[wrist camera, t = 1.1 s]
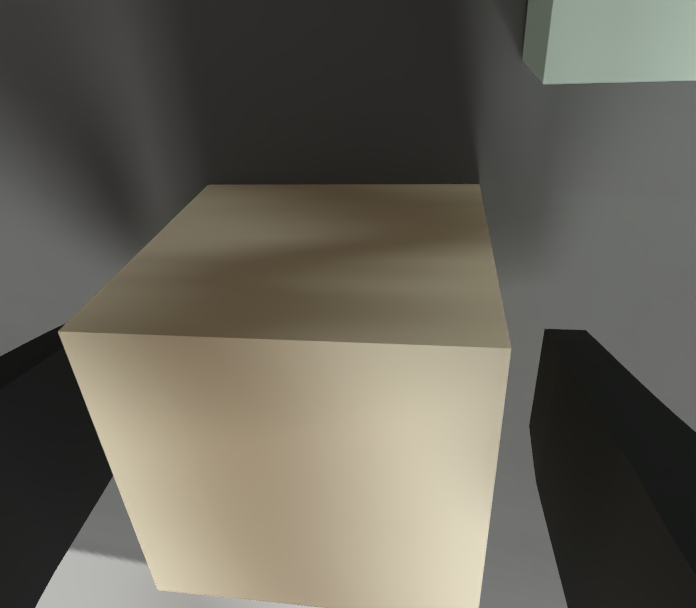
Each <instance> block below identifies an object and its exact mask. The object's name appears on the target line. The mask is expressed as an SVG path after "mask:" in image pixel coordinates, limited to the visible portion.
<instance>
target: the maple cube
mask: <svg viewBox="0 0 696 608" xmlns="http://www.w3.org/2000/svg"><path fill="white" fill-rule="evenodd" d="M58 333H59V336H60V338H61V341H62V344H63V346H64V349H65V351H66V354H67V356H68V359H69V362H70V364H71V367H72V369H73V372H74V375H75V377H76V380H77V382H78V385H79V388H80V390H81V393H82V395H83V398H84V400H85V403H86V406H87V408H88V411H89V413H90V416H91V419H92V421H93V424H94V426H95V429H96V432H97V434H98V437H99V439H100V442H101V445H102V447H103V450H104V452H105V455H106V457H107V460H108V463H109V465H110V468H111V470H112V473H113V476H114V478H115V481H116V483H117V486H118V489H119V491H120V494H121V496H122V499H123V501H124V504H125V507H126V509H127V512H128V514H129V517H130V520H131V522H132V525H133V527H134V530H135V533H136V535H137V538H138V540H139V543H140V546H141V548H142V551H143V553H144V556H145V558H146V561H147V564H148V566H149V569H150V571H151V574H152V576H153V579H154V582H155V584H156V587H157V589H158V590H163V591H172V592H182V593H192V594H200V595H210V596H219V597H230V598H238V599H248V600H258V601H267V602H276V603H286V604H295V605H304V606H314V607H323V608H479V601H480V593H481V586H482V578H483V570H484V562H485V554H486V546H487V538H488V530H489V522H490V514H491V506H492V498H493V490H494V482H495V474H496V466H497V458H498V450H499V443H500V435H501V427H502V419H503V411H504V403H505V395H506V387H507V379H508V371H509V363H510V355H511V344H510V339H509V334H508V329H507V323H506V318H505V313H504V308H503V303H502V298H501V292H500V287H499V282H498V277H497V272H496V267H495V261H494V256H493V251H492V246H491V241H490V235H489V230H488V225H487V220H486V215H485V210H484V204H483V199H482V194H481V189H480V184H302V185H207V186H206V187H205V188H204V189H203V190H202V191H201V192H200V193H199V194H198V195H197V196H196V197H195V198H194V199H193V200H192V201H191V202H190V203H189V204H188V205H187V206H186V207H185V208H184V209H183V210H182V211H181V212H180V213H179V214H178V215H176V216H175V217H174V218H173V219H172V220H171V221H170V222H169V223H168V224H167V225H166V226H165V227H164V228H163V229H162V230H161V231H160V232H159V233H158V234H157V235H156V236H155V237H154V238H153V239H152V240H151V241H150V242H149V243H148V244H147V245H146V246H145V247H144V248H143V249H142V250H141V251H140V252H139V253H138V254H137V255H136V256H135V257H133V258H132V259H131V260H130V261H129V262H128V263H127V264H126V265H125V266H124V267H123V268H122V269H121V270H120V271H119V272H118V273H117V274H116V275H115V276H114V277H113V278H112V279H111V280H110V281H109V282H108V283H107V284H106V285H105V286H104V287H103V288H102V289H101V290H100V291H99V292H98V293H97V294H96V295H95V296H94V297H93V298H92V299H90V300H89V301H88V302H87V303H86V304H85V305H84V306H83V307H82V308H81V309H80V310H79V311H78V312H77V313H76V314H75V315H74V316H73V317H72V318H71V319H70V320H69V321H68V322H67V323H66V324H65V325H64V326H63V327H62V328H61V329H60V330H59V331H58Z"/></svg>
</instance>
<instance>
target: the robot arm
mask: <svg viewBox="0 0 696 608" xmlns="http://www.w3.org/2000/svg"><path fill="white" fill-rule="evenodd" d="M64 325H65V324H64ZM64 325H61V326H59V327H57V328H55V329H53V330H51V331H49V332H47V333H45V334H43V335H41V336H39V337H37V338H35V339H33V340H31V341H29V342H27V343H25V344H23V345H21V346H19V347H18V348H16V349H14V350H12V351H10V352H8V353H6V354H4V355H2V356H0V608H35V607H36V605H37V603H38V601H39V599H40V597H41V595H42V594H43V592H44V590H45V588H46V586H47V585H48V583H49V581H50V579H51V577H52V576H53V574H54V572H55V570H56V569H57V567H58V565H59V564H60V562H61V560H62V559H63V557H64V555H65V554H66V552H67V551H68V549H69V547H70V546H71V544H72V542H73V541H74V539H75V538H76V536H77V534H78V533H79V531H80V529H81V528H82V526H83V524H84V523H85V521H86V520H87V518H88V516H89V515H90V513H91V511H92V510H93V508H94V506H95V505H96V503H97V502H98V500H99V498H100V497H101V495H102V493H103V492H104V490H105V488H106V487H107V485H108V483H109V482H110V480H111V478H112V476H113V473H112V470H111V468H110V465H109V463H108V460H107V457H106V455H105V452H104V450H103V447H102V445H101V442H100V439H99V437H98V434H97V432H96V429H95V426H94V424H93V421H92V419H91V416H90V413H89V411H88V408H87V406H86V403H85V400H84V398H83V395H82V393H81V390H80V388H79V385H78V382H77V380H76V377H75V375H74V372H73V369H72V367H71V364H70V362H69V359H68V356H67V354H66V351H65V349H64V346H63V344H62V341H61V338H60V336H59V333H58V331H59V330H60V329H61V328H62V327H63V326H64ZM529 427H530V436H531V445H532V453H533V461H534V469H535V476H536V483H537V487H538V492H539V496H540V500H541V504H542V508H543V512H544V516H545V520H546V524H547V528H548V532H549V536H550V540H551V543H552V547H553V551H554V555H555V559H556V563H557V567H558V571H559V575H560V579H561V583H562V586H563V590H564V594H565V598H566V602H567V606H568V608H696V432H695V431H694V430H692V429H691V428H690V427H689V426H688V425H687V424H685V423H684V422H683V421H682V420H681V419H680V418H679V417H677V416H676V415H675V414H674V413H673V412H672V411H671V410H670V409H668V408H667V407H666V406H665V405H664V404H663V403H662V402H661V401H660V400H659V399H658V398H656V397H655V396H654V395H653V394H652V393H651V392H650V391H649V390H648V389H647V388H646V387H645V386H644V385H642V384H641V383H640V382H639V381H638V380H637V379H636V378H635V377H634V376H633V375H632V374H631V373H630V372H629V371H628V370H627V369H626V368H625V367H624V366H623V365H621V364H620V363H619V362H618V361H617V360H616V359H615V358H614V357H613V356H612V355H611V354H610V353H609V352H608V351H607V350H606V349H605V348H604V347H603V346H602V345H601V344H600V343H599V342H598V341H597V340H596V339H595V338H593V337H592V336H591V335H590V334H589V333H588V332H587V331H586V330H561V329H545V331H544V337H543V343H542V350H541V356H540V362H539V368H538V375H537V381H536V387H535V393H534V400H533V406H532V412H531V418H530V425H529Z"/></svg>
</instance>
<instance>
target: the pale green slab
mask: <svg viewBox="0 0 696 608" xmlns="http://www.w3.org/2000/svg"><path fill="white" fill-rule="evenodd" d="M522 61H523V62H524V63H525V64H526V66H527V67H528V68H529V69H530V70H531V71H532V72H533V74H534V75H535V76H536V77H537V78H538V79H539V81H540V82H541V83H542V84H577V83H614V82H651V81H688V80H696V0H528V8H527V18H526V28H525V37H524V47H523V56H522Z"/></svg>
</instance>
